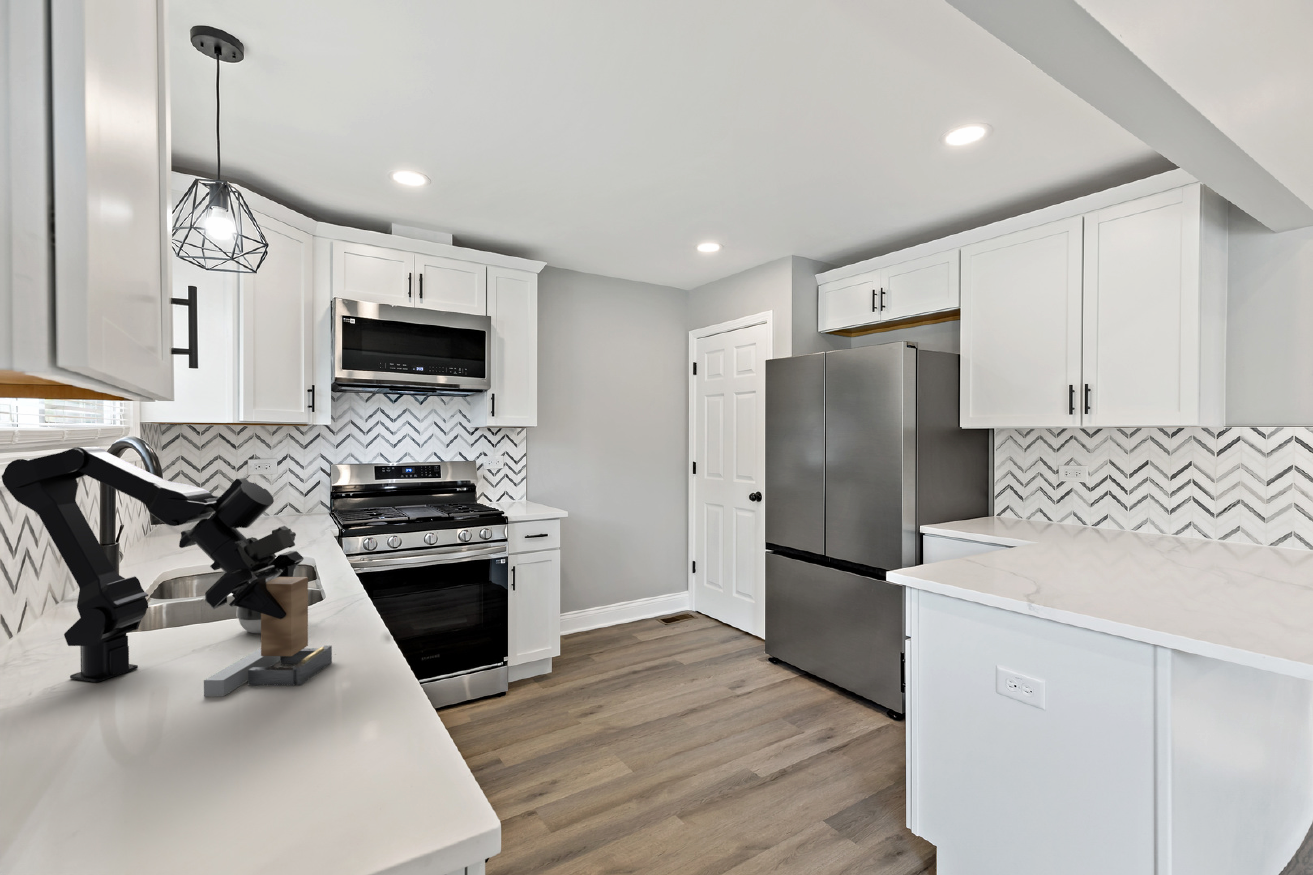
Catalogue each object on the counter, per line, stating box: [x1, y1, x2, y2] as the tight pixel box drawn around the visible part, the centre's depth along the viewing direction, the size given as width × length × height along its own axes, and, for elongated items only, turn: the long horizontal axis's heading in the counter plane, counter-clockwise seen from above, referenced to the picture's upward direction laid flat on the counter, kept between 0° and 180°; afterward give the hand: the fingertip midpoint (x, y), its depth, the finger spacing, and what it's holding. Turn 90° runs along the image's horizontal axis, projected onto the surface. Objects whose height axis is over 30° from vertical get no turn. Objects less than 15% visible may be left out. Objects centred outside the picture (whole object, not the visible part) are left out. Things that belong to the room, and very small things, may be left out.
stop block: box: [260, 576, 309, 656], centre depth 106 cm, size 5×5×12 cm
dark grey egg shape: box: [235, 557, 276, 635], centre depth 129 cm, size 10×10×15 cm
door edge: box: [203, 647, 280, 697], centre depth 106 cm, size 3×18×2 cm, turn 1°
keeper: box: [247, 645, 333, 686], centre depth 106 cm, size 8×10×3 cm
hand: (293, 612), depth 106 cm, fingers closed on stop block, 5 cm apart
